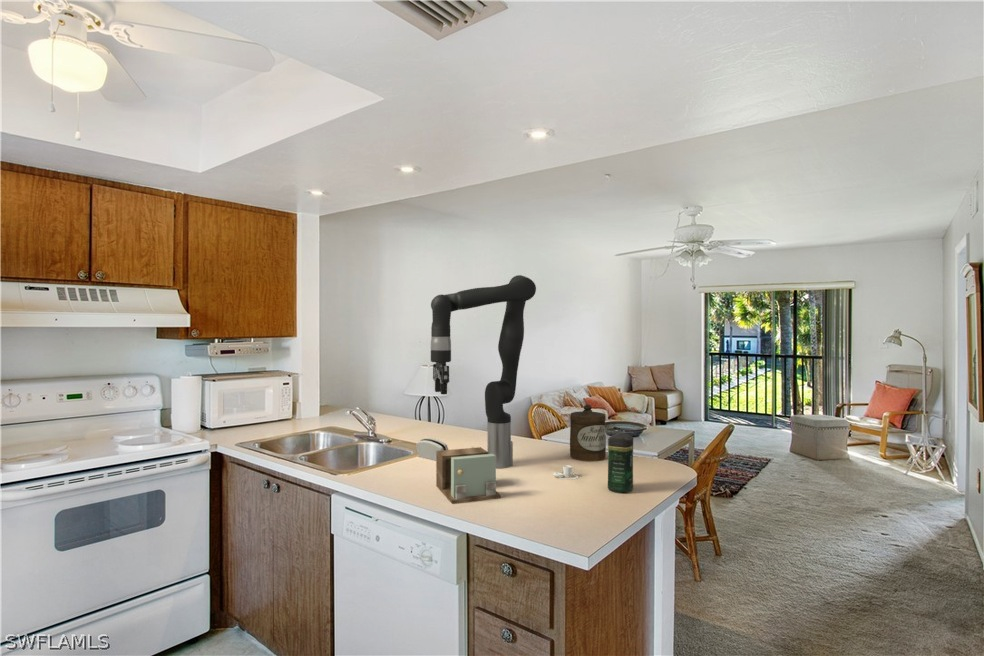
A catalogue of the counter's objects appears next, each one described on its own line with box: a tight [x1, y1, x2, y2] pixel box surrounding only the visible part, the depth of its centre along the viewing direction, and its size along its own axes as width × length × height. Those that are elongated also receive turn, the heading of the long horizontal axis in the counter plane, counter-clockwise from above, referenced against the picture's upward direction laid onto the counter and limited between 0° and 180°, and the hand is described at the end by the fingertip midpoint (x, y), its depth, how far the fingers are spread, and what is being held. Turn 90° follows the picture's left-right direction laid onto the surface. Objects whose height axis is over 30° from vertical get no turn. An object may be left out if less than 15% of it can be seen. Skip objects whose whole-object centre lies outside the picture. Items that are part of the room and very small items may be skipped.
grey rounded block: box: [415, 437, 449, 462], centre depth 215 cm, size 17×5×10 cm, turn 50°
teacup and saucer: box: [553, 464, 579, 480], centre depth 190 cm, size 9×8×4 cm
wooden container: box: [569, 404, 607, 462], centre depth 220 cm, size 15×15×22 cm
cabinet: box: [435, 446, 502, 504], centre depth 172 cm, size 16×20×12 cm
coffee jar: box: [607, 432, 634, 494], centre depth 175 cm, size 10×8×19 cm
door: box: [451, 454, 497, 498], centre depth 165 cm, size 14×4×12 cm, turn 110°
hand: (440, 393), depth 192 cm, fingers open, 8 cm apart
